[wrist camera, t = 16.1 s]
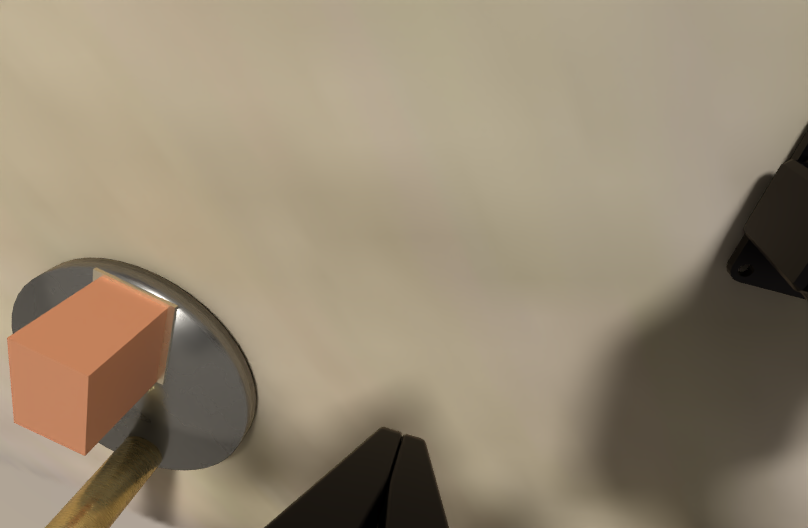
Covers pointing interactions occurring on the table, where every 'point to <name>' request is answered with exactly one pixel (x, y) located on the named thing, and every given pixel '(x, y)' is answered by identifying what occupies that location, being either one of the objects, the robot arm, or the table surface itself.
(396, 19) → the table surface
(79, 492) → the metal plate with post
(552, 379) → the table surface
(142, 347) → the link block
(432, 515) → the robot arm
